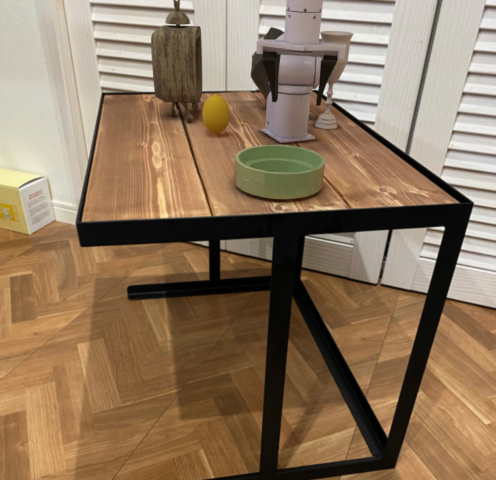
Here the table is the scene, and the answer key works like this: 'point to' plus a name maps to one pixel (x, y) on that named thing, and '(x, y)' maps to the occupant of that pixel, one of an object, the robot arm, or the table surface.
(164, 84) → the tabletop clock
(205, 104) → the lemon
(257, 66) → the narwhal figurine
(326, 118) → the chalice
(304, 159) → the bowl
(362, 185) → the table surface
